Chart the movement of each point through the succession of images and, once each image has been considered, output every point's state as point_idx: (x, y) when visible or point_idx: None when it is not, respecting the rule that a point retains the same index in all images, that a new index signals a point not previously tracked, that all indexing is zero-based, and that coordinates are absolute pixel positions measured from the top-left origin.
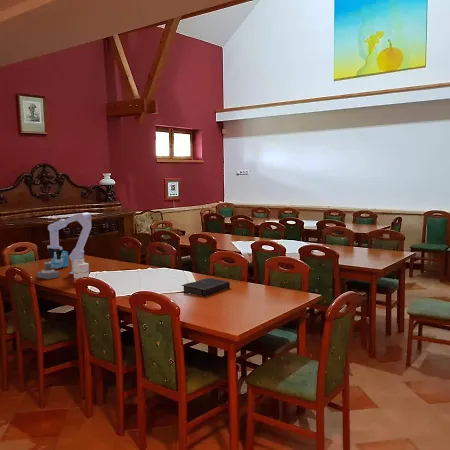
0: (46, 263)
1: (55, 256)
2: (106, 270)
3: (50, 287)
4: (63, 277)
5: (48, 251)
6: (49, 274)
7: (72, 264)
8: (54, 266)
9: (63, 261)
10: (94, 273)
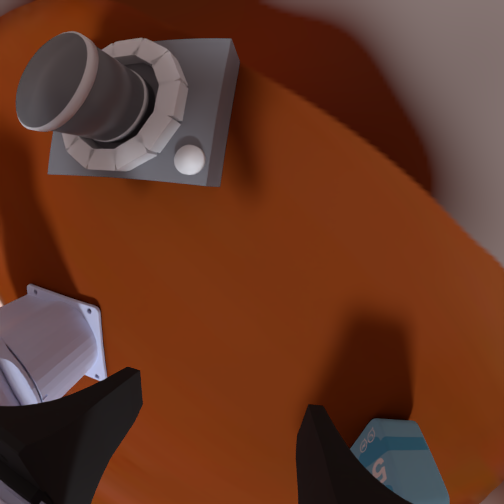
0: (51, 48)
1: None
2: None
3: (10, 11)
4: (45, 175)
5: (365, 497)
6: None
7: (20, 331)
8: (378, 425)
9: None
10: None
